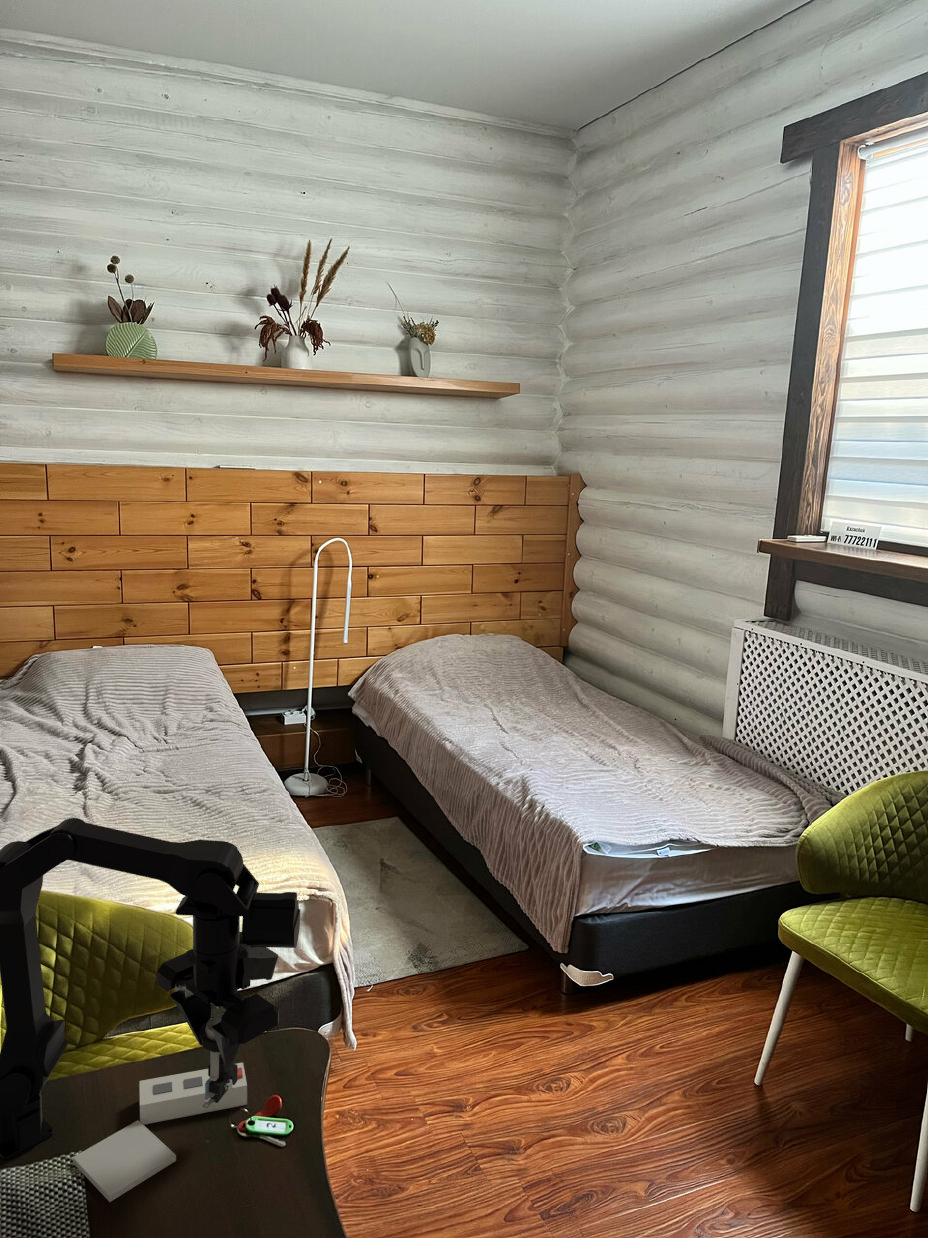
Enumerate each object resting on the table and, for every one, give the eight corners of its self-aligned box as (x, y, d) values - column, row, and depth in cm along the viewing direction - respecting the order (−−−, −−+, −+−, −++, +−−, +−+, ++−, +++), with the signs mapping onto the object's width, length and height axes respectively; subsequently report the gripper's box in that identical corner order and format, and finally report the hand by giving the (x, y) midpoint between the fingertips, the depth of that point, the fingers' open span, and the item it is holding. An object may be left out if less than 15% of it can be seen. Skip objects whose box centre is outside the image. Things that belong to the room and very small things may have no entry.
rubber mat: (73, 1163, 116) (72, 1157, 116) (138, 1125, 123) (138, 1120, 122) (109, 1202, 110) (109, 1196, 110) (176, 1160, 117) (176, 1155, 117)
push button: (222, 1117, 116) (223, 1047, 114) (185, 1106, 118) (185, 1037, 116) (248, 1082, 123) (249, 1015, 120) (212, 1073, 124) (213, 1007, 122)
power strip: (140, 1125, 123) (139, 1102, 122) (139, 1100, 127) (139, 1078, 127) (247, 1104, 127) (247, 1082, 127) (243, 1081, 132) (243, 1059, 131)
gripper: (313, 947, 116) (311, 1057, 119) (226, 896, 128) (225, 997, 131) (240, 983, 108) (240, 1100, 111) (154, 925, 120) (155, 1032, 122)
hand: (216, 1053), depth 119 cm, fingers closed on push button, 5 cm apart
